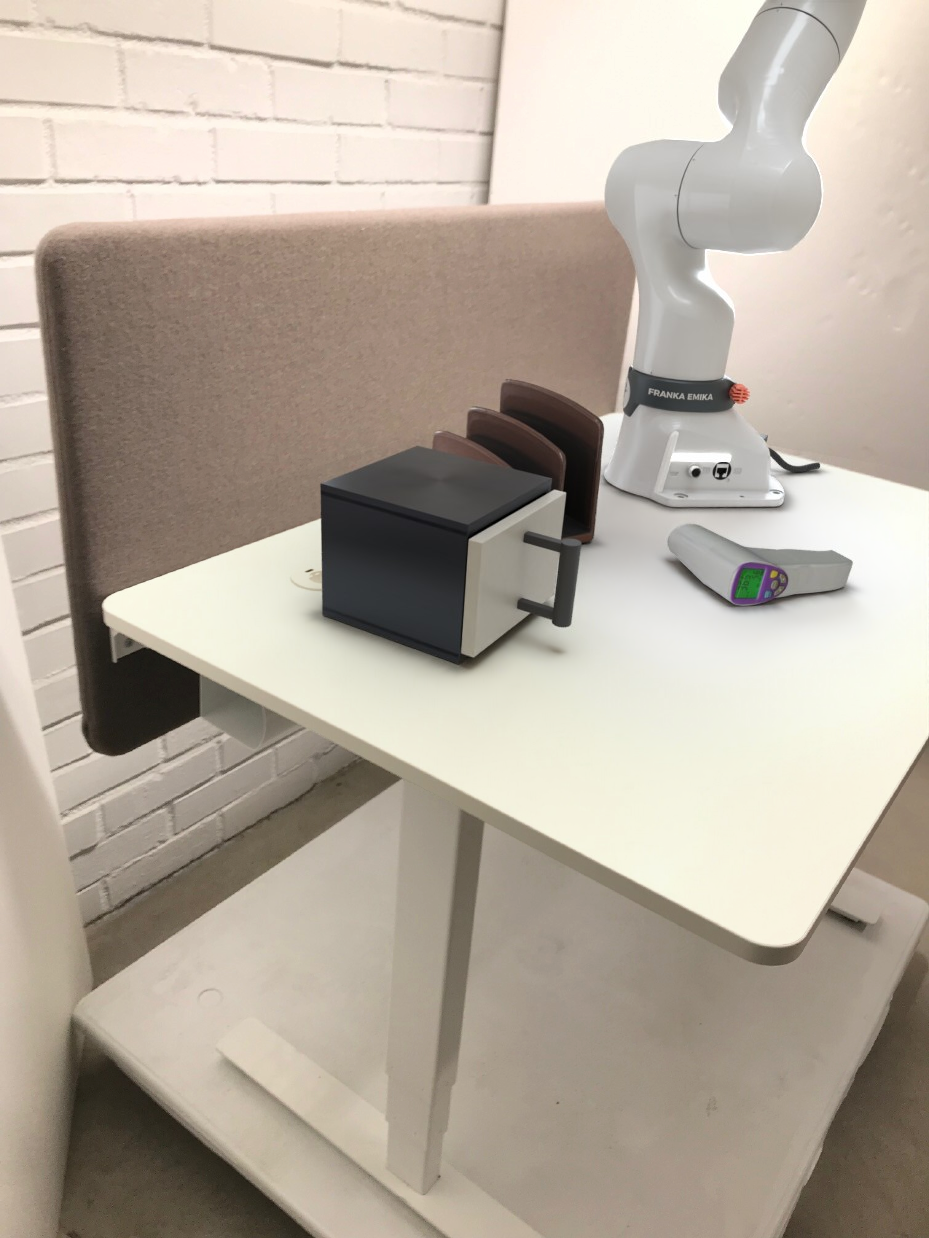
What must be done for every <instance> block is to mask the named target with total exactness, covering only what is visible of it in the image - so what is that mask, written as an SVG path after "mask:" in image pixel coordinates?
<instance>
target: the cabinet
mask: <svg viewBox="0 0 929 1238" xmlns="http://www.w3.org/2000/svg"><path fill="white" fill-rule="evenodd" d="M551 484H552V478H548V477H544V476H540V475H536V474H532V473H528V472H524V471H520V470H515V469H511V468H507V467H503V466H499V465H495V464H491V463H487V462H482V461H478V460H474V459H470V458H466V457H462V456H458V455H454V454H450V453H445V452H441V451H437V450H433V449H432V448H429V447H424V446H420V445H415V446H413V447H410V448H408V449H405V450H403V451H400V452H397V453H395V454H393V455H390V456H388V457H387V456H386V457H385V458H382V459H380V460H377V461H375V462H372V463H368V464H367V465H364V466H362V467H359V468H357V469H354V470H352V471H349V472H345V473H344V474H341V475H339V476H336V477H334V478H333V477H332V478H331V479H329V480H325V481H323V482H321V483H320V485H319V486H320V487H319V489H320V490H319V491H320V493H319V495H320V542H321V543H320V544H321V545H320V546H321V547H320V549H321V553H320V554H321V615H322V616H324V617H327V618H329V619H332V620H335V621H337V622H340V623H343V624H346V625H349V626H352V627H354V628H357V629H359V630H363V631H365V632H368V633H371V634H374V635H376V636H379V637H381V638H384V639H387V640H390V641H393V642H396V643H399V644H401V645H404V646H407V647H409V648H412V649H415V650H418V651H420V652H423V653H426V654H428V655H431V656H433V657H434V656H435V657H437V658H439V659H442V660H445V661H448V662H451V663H454V664H456V665H460V664H462V663H463V662H465V660H467V659H468V658H470V656H467V655H465V654H462V653H461V648H462V633H463V618H464V603H465V588H466V573H467V558H468V543H469V539H470V538H472V537H474V533H475V532H477V531H479V530H481V529H482V528H484V527H486V526H488V525H489V524H496V523H498V522H499V521H501V520H503V519H505V518H506V517H508V516H510V515H512V514H513V513H515V512H517V511H518V510H520V509H522V508H524V507H525V506H527V505H529V504H531V503H532V502H534V501H536V500H537V499H539V498H541V497H543V496H544V495H546V494H548V493H550V492H551Z"/></svg>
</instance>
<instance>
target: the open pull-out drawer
mask: <svg viewBox="0 0 929 1238" xmlns="http://www.w3.org/2000/svg"><path fill="white" fill-rule="evenodd" d="M565 500H566V492H562V491H558V490H553V491H551V492H550V493H548V494H546V495H544V496H543V497H541V498H539V499H537V500H536V501H534V502H532V503H531V504H529V505H527V506H525V507H524V508H522V509H520V510H518V511H517V512H515V513H513V514H512V515H510V516H508V517H506V518H505V519H503V520H501V521H499V522H498V523H496V524H489V525H488V526H486V527H484V528H482V529H481V530H479V531H477V532H475V533H474V537H472V538H470V539H469V543H468V558H467V573H466V588H465V603H464V618H463V633H462V648H461V653H462V654H465V655H467V656H469V658H470V657H471V658H476V657H477V656H478V655H479V654H480V653H482V652H483V651H484V650H485V649H486V648H488V647H489V646H490V645H492V644H493V643H495V642H496V641H497V640H498V639H499V638H501V637H502V636H504V635H505V634H507V632H508V631H509V630H511V629H512V628H514V627H515V626H516V625H518V624H519V623H520V622H522V621H523V620H524V619H525V618H526V617H527V616H529V615H531V614H532V615H535V616H538V617H542V618H544V619H547V620H551V624H552V625H553V626H555V627H558V628H569V627H570V626H571V625H572V621H573V615H574V607H575V606H574V605H575V597H576V590H577V581H578V574H579V567H580V560H581V551H582V543H581V542H580V541H579V540H576V539H570V538H568V539H563V540H561V534H562V525H563V517H564V508H565ZM553 596H554V599H553V606H550V605H547V604H544V603H546V602H547V601H549V599H551V598H552V597H553Z"/></svg>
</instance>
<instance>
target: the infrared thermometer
mask: <svg viewBox="0 0 929 1238" xmlns="http://www.w3.org/2000/svg"><path fill="white" fill-rule="evenodd" d="M666 545H667V548H668V550H669V551H670V553H671V554H673V555H674V556H675V557H676V558H677V559H678V560H679V561H680V562H681V563H682V564H683V565H684V566H685V567H686V568H687V569H688V570H689V571H690V572H691V573H692V574H693V575H694V577H696V578H697V579H698V580H699V581H700V582H701V583H702V584H703V585H705V586H706V587H708V588H709V589H711V590H712V591H714V592H715V593H717V594H719V595H720V596H722V597H723V598H724V599H726V600H727V601H729V602H730V603H732V605H736V606H741V607H742V606H743V607H745V606H754V605H759V604H763V603H766V602H769V601H772V600H774V599H775V598H776V599H777V598H784V597H789V596H792V595H799V594H810V593H812V594H813V593H821V592H822V593H823V592H829V591H834V590H839V589H842V588H844V587H846V585H847V582H848V580H849V576H850V573H851V570H852V568H853V564H854V562H853V560H852V559H850V558H848V557H847V556H844V555H843V554H841V553H839V552H837V551H836V550H833V549H829V550H812V549H811V550H810V549H796V548H780V549H779V548H764V547H750V546H745V545H742V544H739V543H738V542H735V541H733V540H731V539H729V538H727V537H724V536H723V535H720V534H718V533H716V532H714V531H713V530H710V529H708V528H706V527H703V526H702V525H700V524H696V523H685V524H681V525H679V526H677V527H676V528H674V529H672V531H671V532H670V533H669V535H668V537H667V540H666Z"/></svg>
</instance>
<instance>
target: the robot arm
mask: <svg viewBox="0 0 929 1238" xmlns="http://www.w3.org/2000/svg"><path fill="white" fill-rule="evenodd" d="M867 1H868V0H764V2H763V3H762V4H761V6H760V7H759V9H758V11H757V13H756V14H755V16H754V17H753V19H752V21H751V22H750V23H749V26H748V28H747V29H746V31H745V33H744V35H742V38H741V40H740V41H739V43H738V44H737V46H736V48H735V50H734V51H733V53H732V55H731V57H730V58H729V60H728V62H727V63H726V66H725V67H724V69H723V70H722V72H721V74H720V76H719V79H718V82H717V86H716V105H717V110H718V113H719V116H720V118H721V120H722V121H723V123H724V124H725V126H726V127H727V128H728V130H729V131H728V132H727V133H726V134H725V135H724V136H722V137H721V138H719V139H713V140H705V139H686V138H685V139H683V138H660V139H656V140H650V141H646V142H641V143H638V144H633V145H630V146H627V147H626V148H624V149H623V150H622V151H621V152H620V153H619V154H618V155H617V157H616V158H615V159H614V161H613V162H612V164H611V166H610V169H609V170H608V173H607V176H606V180H605V184H604V191H603V193H604V196H603V197H604V206H605V211H606V215H607V217H608V219H609V221H610V223H611V224H612V226H613V227H614V229H616V231H617V232H618V233H619V234H620V236H621V238H622V239H623V241H624V243H625V245H626V247H627V249H628V252H629V254H630V257H631V260H632V264H633V267H634V271H635V276H636V282H637V288H638V289H637V290H638V315H637V317H638V318H637V328H636V337H635V345H634V353H633V361H632V364H631V365H629V367H628V371H627V376H626V377H625V382H624V390H623V398H622V411H623V416H622V420H621V425H620V428H619V432H618V435H617V439H616V442H615V445H614V448H613V452H612V454H611V457H610V458H609V459H610V460H609V462H608V464H607V466H606V468H605V470H604V472H603V477H604V478H605V480H606V482H608V483H609V484H611V485H612V486H614V487H616V488H617V489H620V490H622V491H625V492H627V493H630V494H634V495H636V496H640V497H644V498H647V499H650V500H652V501H654V502H656V503H658V504H660V505H662V506H666V507H671V508H672V507H673V508H710V507H711V508H716V507H717V508H718V507H720V508H721V507H722V508H725V507H727V508H728V507H731V508H733V507H734V508H735V507H736V508H737V507H741V508H744V507H746V508H747V507H751V508H752V507H754V508H755V507H780V506H782V504H784V501H785V495H786V494H785V489H784V487H783V485H782V483H781V482H780V481H779V480H778V479H777V478H776V477H774V475H772V474H771V468H772V467H771V464H772V463H771V462H772V461H771V458H772V460H773V461H774V462H775V463H777V465H778V466H779V467H781V468H782V469H783V470H785V471H788V472H791V473H805V472H810V471H814V470H819V469H820V468H821V463H820V462H811V463H807V464H802V465H792V464H790V463H788V462H787V461H785V460H784V458H783V457H782V456H781V455H780V454H779V453H777V451H775V450H774V449H772V448H771V447H769V445H768V443H767V442H768V437H769V435H767V434H762V433H758V431H757V430H756V429H755V428H754V426H752V424H750V423H749V421H747V419H745V417H743V415H742V414H741V413H740V412H738V410H737V409H736V408H734V405H735V404H737V405H738V404H739V405H742V404H745V403H746V401H749V398H750V396H751V395H750V394H751V392H750V391H749V389H748V388H747V387H746V386H745V385H744V384H742V383H737V382H736V381H735V380H733V378H731V377H730V376H728V375H727V374H726V369H727V363H728V357H729V353H730V347H731V342H732V336H733V331H734V327H735V320H736V313H735V307H734V303H733V301H732V300H731V298H730V297H729V295H728V294H727V293H726V292H725V291H724V290H723V289H721V287H719V286H718V285H717V283H715V281H714V279H713V277H712V275H711V272H710V269H709V265H708V258H707V254H708V253H707V251H713V252H719V253H727V254H735V255H741V256H742V255H743V256H755V255H756V256H757V255H767V254H776V253H784V252H788V251H791V250H793V249H794V248H796V247H797V246H798V245H799V244H800V243H801V242H802V241H804V239H805V238H806V237H807V236H808V235H809V233H810V232H811V230H812V229H813V228H814V225H815V224H816V222H817V219H818V217H819V215H820V212H821V208H822V204H823V197H824V184H823V178H822V174H821V172H820V168H819V166H818V164H817V162H816V160H815V158H813V157H812V155H811V154H810V153H809V152H808V149H807V147H806V133H807V129H808V126H809V123H810V121H811V119H812V117H813V115H814V113H815V111H816V109H817V108H818V105H819V103H820V101H821V100H822V98H823V96H824V94H825V92H826V90H827V88H828V87H829V85H830V83H831V81H832V80H833V78H834V76H835V74H836V73H837V70H838V69H839V67H840V65H841V63H842V62H843V61H844V58H845V56H846V54H847V52H848V50H849V48H850V46H851V44H852V41H853V39H854V37H855V34H856V33H857V30H858V27H859V25H860V22H861V19H862V17H863V13H864V10H865V8H866V5H867Z"/></svg>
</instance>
